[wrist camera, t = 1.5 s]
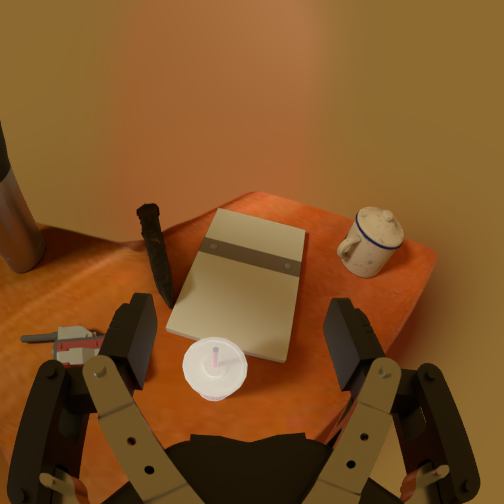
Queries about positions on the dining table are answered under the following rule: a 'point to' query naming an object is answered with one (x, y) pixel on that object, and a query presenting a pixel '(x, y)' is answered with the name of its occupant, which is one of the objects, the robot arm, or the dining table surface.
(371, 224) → the teacup with lid
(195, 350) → the beverage cup
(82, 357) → the walkie-talkie
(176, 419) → the dining table surface
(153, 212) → the hand tool
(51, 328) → the dining table surface
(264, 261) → the floor panel
